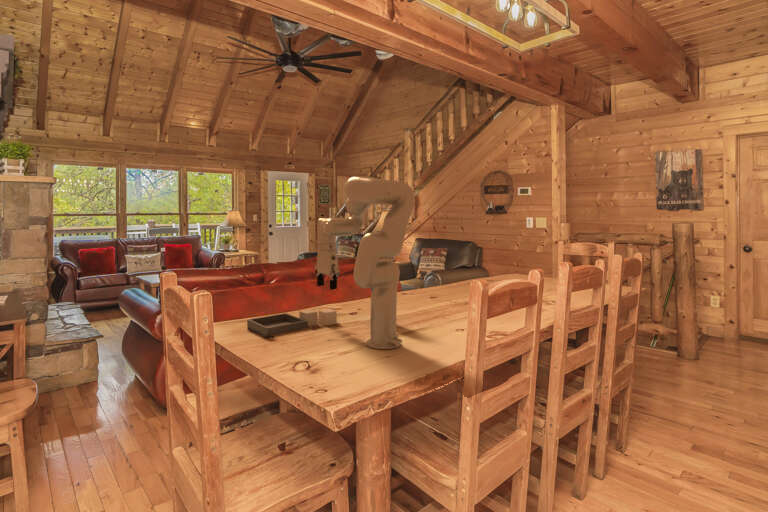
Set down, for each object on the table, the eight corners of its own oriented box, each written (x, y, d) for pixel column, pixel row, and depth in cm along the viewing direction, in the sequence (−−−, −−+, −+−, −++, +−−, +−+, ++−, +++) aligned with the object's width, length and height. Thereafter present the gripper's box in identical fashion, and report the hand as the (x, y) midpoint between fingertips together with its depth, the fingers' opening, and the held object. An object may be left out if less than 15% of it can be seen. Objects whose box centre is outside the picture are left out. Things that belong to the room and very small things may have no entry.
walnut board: (342, 326, 191) (342, 324, 191) (313, 332, 182) (313, 329, 182) (323, 320, 201) (323, 317, 201) (296, 325, 192) (296, 323, 192)
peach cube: (336, 323, 192) (336, 310, 191) (325, 325, 188) (325, 312, 188) (329, 321, 196) (329, 308, 195) (318, 323, 192) (318, 310, 192)
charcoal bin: (307, 330, 184) (307, 320, 184) (267, 338, 173) (267, 328, 172) (286, 321, 198) (286, 313, 198) (247, 328, 186) (247, 319, 186)
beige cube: (317, 324, 190) (317, 311, 190) (306, 326, 187) (306, 313, 186) (310, 321, 194) (310, 309, 194) (299, 323, 191) (299, 311, 190)
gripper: (346, 248, 185) (346, 289, 187) (322, 245, 198) (323, 283, 200) (331, 249, 180) (331, 291, 182) (308, 246, 193) (308, 285, 195)
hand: (326, 287), depth 191 cm, fingers open, 9 cm apart
